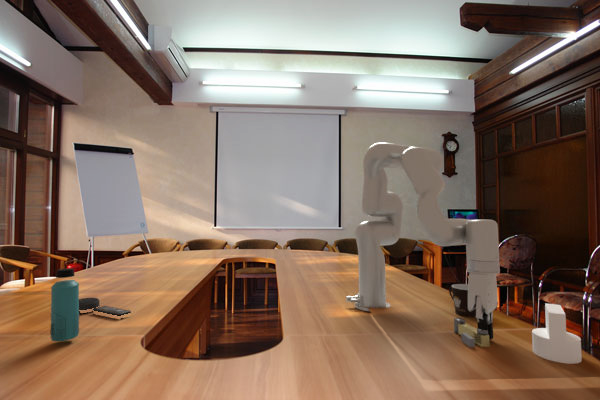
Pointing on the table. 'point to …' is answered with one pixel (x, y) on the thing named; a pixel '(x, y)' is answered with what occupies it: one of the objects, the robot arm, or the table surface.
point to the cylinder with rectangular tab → (556, 338)
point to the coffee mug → (461, 300)
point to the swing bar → (472, 332)
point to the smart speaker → (88, 303)
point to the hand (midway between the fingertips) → (485, 337)
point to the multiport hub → (112, 310)
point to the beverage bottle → (64, 307)
